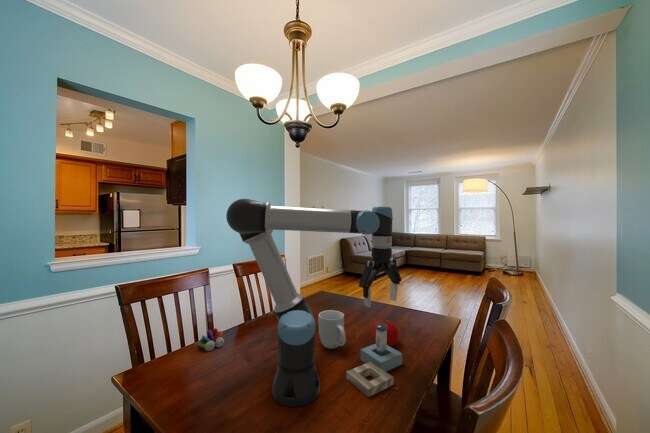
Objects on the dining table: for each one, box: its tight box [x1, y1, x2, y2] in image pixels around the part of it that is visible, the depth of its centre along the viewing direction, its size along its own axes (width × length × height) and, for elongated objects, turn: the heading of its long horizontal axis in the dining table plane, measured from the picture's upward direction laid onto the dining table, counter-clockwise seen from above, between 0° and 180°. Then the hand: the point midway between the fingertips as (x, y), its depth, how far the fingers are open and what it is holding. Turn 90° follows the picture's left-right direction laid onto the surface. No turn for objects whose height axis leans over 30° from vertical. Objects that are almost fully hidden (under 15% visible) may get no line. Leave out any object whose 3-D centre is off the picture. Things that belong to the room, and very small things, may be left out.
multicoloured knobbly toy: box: [198, 327, 225, 352], centre depth 112 cm, size 8×10×7 cm
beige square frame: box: [345, 362, 394, 398], centre depth 89 cm, size 11×11×2 cm
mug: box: [317, 309, 347, 350], centre depth 112 cm, size 15×11×13 cm
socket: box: [359, 343, 403, 373], centre depth 101 cm, size 11×11×4 cm
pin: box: [375, 323, 388, 357], centre depth 101 cm, size 5×5×14 cm
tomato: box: [370, 319, 399, 348], centre depth 115 cm, size 12×12×10 cm
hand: (380, 303), depth 101 cm, fingers open, 13 cm apart
